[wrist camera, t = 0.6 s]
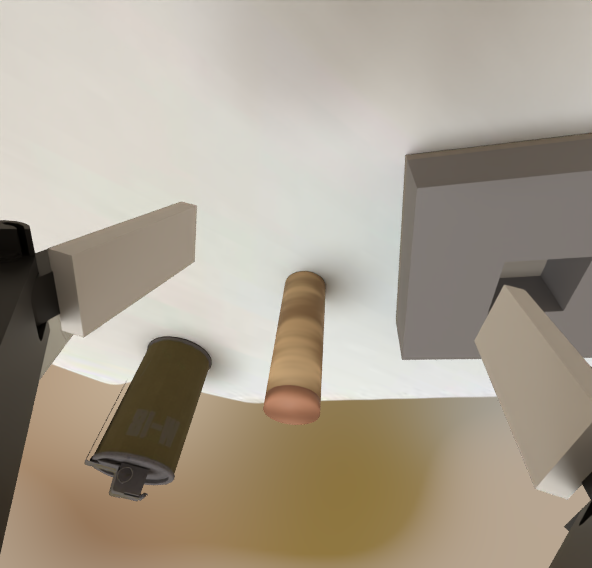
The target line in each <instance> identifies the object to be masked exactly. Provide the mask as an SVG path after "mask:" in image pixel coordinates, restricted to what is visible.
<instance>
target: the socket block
mask: <svg viewBox="0 0 592 568" xmlns="http://www.w3.org/2000/svg"><path fill="white" fill-rule="evenodd" d="M504 285H508V286H512V287H516V288H520V289H524V290H525V291H526V292H527V293H528V294H529V295H530V296H531V298H532V299H533V300H534V301H535V302H536V303H537V305H538V306H539V307H540V308H541V309H542V310H543V312H544V313H545V314H546V315H547V316H548V317H549V319H550V320H551V321H552V322H553V323H554V324H555V326H556V327H557V328H558V329H559V330H560V331H561V333H562V334H563V335H564V336H565V337H566V339H567V340H568V341H569V342H570V343H571V344H572V346H573V347H574V348H575V349H576V350H577V351H578V353H579V354H580V355H581V356H582V357H583V358H592V133H588V134H579V135H571V136H563V137H554V138H546V139H537V140H529V141H521V142H512V143H504V144H495V145H487V146H479V147H470V148H462V149H454V150H445V151H437V152H428V153H420V154H412V155H406V156H405V173H404V190H403V207H402V224H401V241H400V258H399V276H398V293H397V310H396V325H397V331H398V337H399V344H400V350H401V356H402V360H424V359H482V358H481V356H480V353H479V351H478V349H477V346H476V344H475V341H474V340H475V338H476V337H477V335H478V333H479V331H480V329H481V327H482V325H483V323H484V322H485V320H486V318H487V316H488V314H489V312H490V310H491V308H492V307H493V305H494V303H495V301H496V299H497V297H498V295H499V293H500V292H501V290H502V288H503V286H504Z"/></svg>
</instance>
